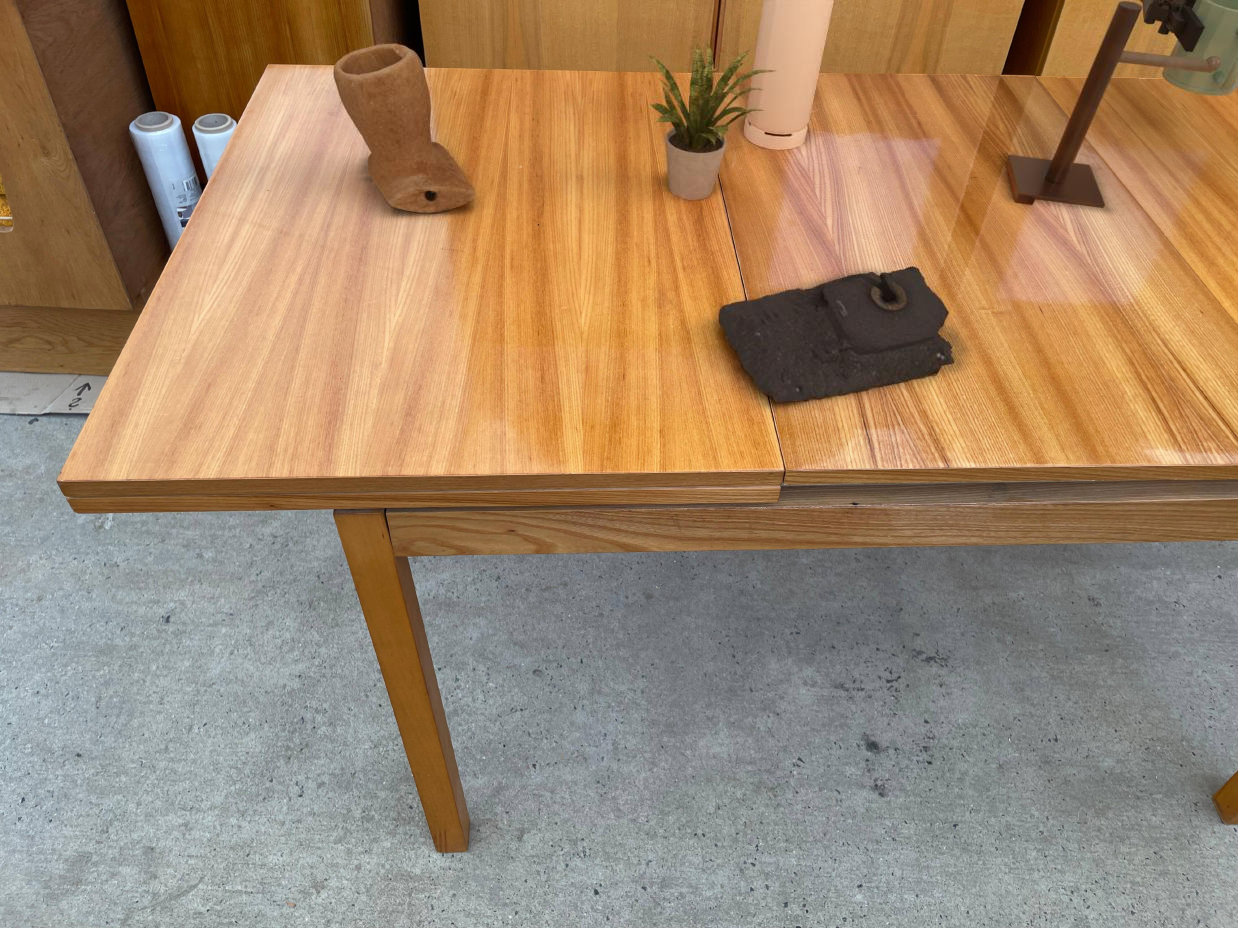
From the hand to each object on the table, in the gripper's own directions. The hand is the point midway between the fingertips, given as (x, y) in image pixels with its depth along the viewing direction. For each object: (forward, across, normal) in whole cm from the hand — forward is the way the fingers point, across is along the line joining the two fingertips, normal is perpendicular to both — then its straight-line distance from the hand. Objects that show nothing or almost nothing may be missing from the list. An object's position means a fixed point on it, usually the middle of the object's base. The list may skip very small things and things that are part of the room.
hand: (1237, 44), depth 98 cm
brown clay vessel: (+25, +89, -18) cm, 94 cm away
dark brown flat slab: (+41, +40, -18) cm, 60 cm away
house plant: (+17, +56, -18) cm, 61 cm away
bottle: (-1, +49, -18) cm, 52 cm away
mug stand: (+4, +11, -17) cm, 21 cm away
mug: (-3, 0, -6) cm, 7 cm away
